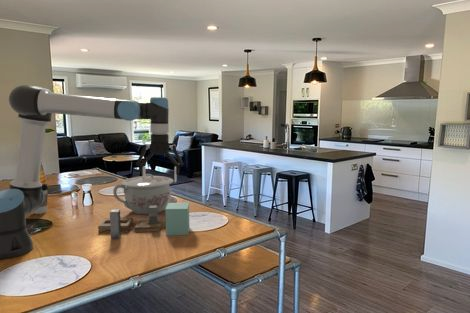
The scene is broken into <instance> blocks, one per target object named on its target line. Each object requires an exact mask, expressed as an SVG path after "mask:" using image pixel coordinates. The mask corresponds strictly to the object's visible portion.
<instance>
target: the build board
mask: <svg viewBox="0 0 470 313" xmlns="http://www.w3.org/2000/svg"><path fill="white" fill-rule="evenodd" d="M120 220H121V233H124V232H125V233H129V231H130V229H132V227H133V225H134V217H120ZM97 228H98V230H97V231H98V233H111V228H110V217H109V218H108V217H105V218H104V219H103V220H102V221H101V223H100V224H99V225H98V226H97Z"/></svg>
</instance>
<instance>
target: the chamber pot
mask: <svg viewBox="0 0 470 313" xmlns="http://www.w3.org/2000/svg"><path fill="white" fill-rule="evenodd" d="M172 183H174V179H173V178H171V177H169V176H164V175H163V176H161V175H153V174H151V173H146V181H145V182H143V175H141V176H134V177H129V178H127V179H124V180H122V181H121V184H120V183H117V184H116V185H115V186H114V188H113V190H112V194H113V197H114V198H115V199H116V200H117V201H118V202H120V203H121V204H124V205H125V206H126V207H127V208H128V209H130V210H131V211H132V212H133V213H134V214H138V215H144V216H146V215H148V216H149V207H150V206H157V210H158V213H161V212H164V210H165V209H166V207H167V205H168V203H171V202H170V201H171V198H172V197H171V196H172V188H171V186H170V185H171V184H172ZM118 189H123V194H124V199H122V198H120V197H119V195H118V194H117V193H118V192H117V190H118Z"/></svg>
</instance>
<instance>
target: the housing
mask: <svg viewBox="0 0 470 313" xmlns="http://www.w3.org/2000/svg"><path fill="white" fill-rule="evenodd" d="M164 210H165V235H166V236H188V235H189V231H190V202H169V203H168V205H167V207H166V208H165V209H164Z"/></svg>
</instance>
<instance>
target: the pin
mask: <svg viewBox="0 0 470 313" xmlns="http://www.w3.org/2000/svg"><path fill="white" fill-rule="evenodd" d="M109 218H110V228H111V232H110V240H119V239H121V237H122V232H121V220H120V218H121V209H119V208H118V209H111V210H110V211H109Z"/></svg>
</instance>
